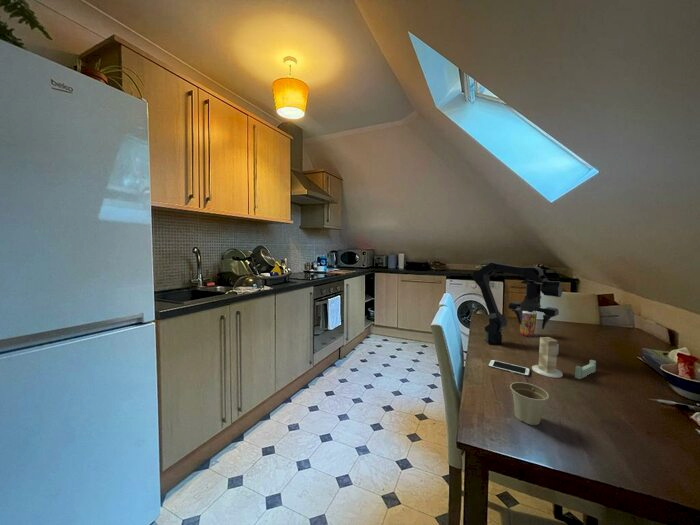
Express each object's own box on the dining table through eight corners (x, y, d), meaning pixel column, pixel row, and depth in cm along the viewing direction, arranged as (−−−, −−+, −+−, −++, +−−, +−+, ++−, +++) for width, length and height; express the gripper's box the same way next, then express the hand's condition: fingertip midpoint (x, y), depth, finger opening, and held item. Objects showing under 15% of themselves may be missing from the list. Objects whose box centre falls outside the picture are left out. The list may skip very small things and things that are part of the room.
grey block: (550, 355, 124) (551, 344, 124) (543, 351, 128) (543, 341, 127) (558, 354, 124) (558, 344, 124) (550, 351, 128) (551, 341, 128)
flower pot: (555, 426, 75) (557, 396, 74) (530, 432, 72) (531, 402, 71) (525, 406, 84) (526, 380, 83) (501, 411, 81) (502, 384, 80)
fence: (575, 377, 103) (575, 366, 102) (590, 370, 109) (591, 359, 109) (579, 379, 101) (580, 368, 101) (595, 371, 108) (596, 361, 107)
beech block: (538, 368, 109) (540, 337, 108) (547, 367, 109) (548, 337, 109) (546, 373, 105) (548, 340, 104) (555, 372, 105) (557, 340, 105)
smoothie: (514, 333, 155) (516, 299, 154) (528, 332, 156) (529, 299, 155) (525, 338, 147) (527, 302, 146) (539, 337, 148) (541, 302, 146)
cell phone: (490, 361, 118) (490, 359, 118) (530, 370, 109) (530, 368, 109) (487, 367, 112) (487, 365, 111) (529, 378, 103) (529, 375, 103)
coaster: (540, 376, 103) (540, 375, 103) (527, 365, 113) (527, 364, 113) (568, 378, 102) (568, 377, 101) (552, 367, 111) (552, 365, 111)
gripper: (504, 292, 126) (502, 324, 127) (551, 299, 111) (549, 335, 112) (514, 290, 133) (512, 321, 134) (559, 296, 118) (557, 330, 119)
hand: (531, 326), depth 125 cm, fingers open, 9 cm apart
